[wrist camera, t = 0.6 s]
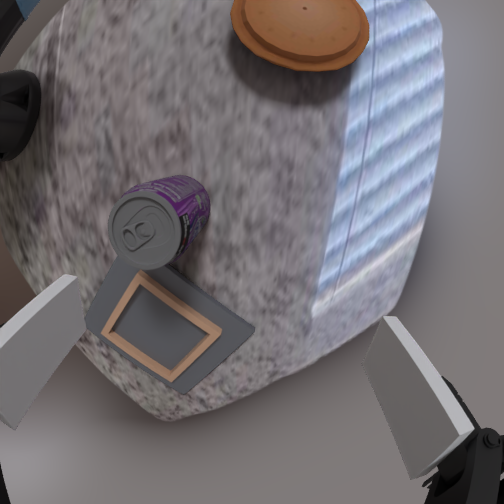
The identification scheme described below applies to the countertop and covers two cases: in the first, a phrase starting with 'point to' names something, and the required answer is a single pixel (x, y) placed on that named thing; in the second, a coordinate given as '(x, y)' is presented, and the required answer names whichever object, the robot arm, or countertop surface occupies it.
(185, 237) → the beverage can
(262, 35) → the pie
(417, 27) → the countertop surface
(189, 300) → the dock plate
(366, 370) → the robot arm
